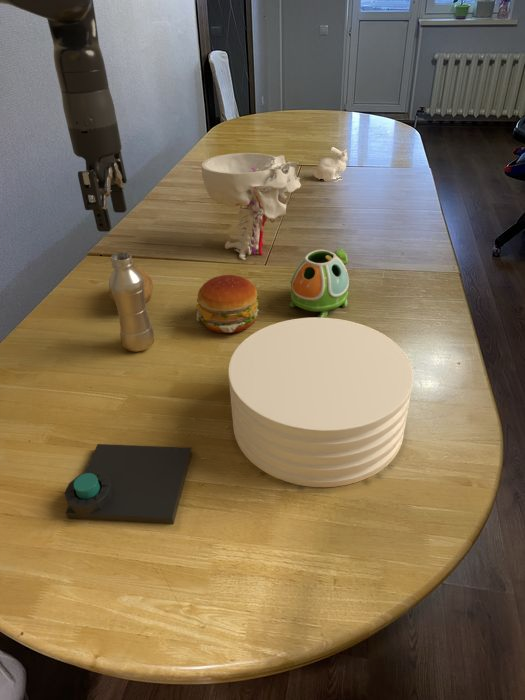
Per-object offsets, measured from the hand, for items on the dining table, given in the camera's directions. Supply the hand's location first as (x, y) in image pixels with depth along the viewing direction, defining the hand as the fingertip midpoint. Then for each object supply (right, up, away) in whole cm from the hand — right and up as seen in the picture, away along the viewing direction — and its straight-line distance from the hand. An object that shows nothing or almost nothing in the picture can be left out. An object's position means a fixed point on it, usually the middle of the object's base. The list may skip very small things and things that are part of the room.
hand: (113, 221), depth 90 cm
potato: (-4, -12, +30) cm, 32 cm away
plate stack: (+35, -34, -4) cm, 49 cm away
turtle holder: (+39, -12, +28) cm, 50 cm away
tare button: (+2, -42, -17) cm, 46 cm away
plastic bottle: (+1, -22, +16) cm, 27 cm away
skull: (+24, +6, +53) cm, 58 cm away
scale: (+7, -42, -14) cm, 45 cm away
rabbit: (+52, +40, +98) cm, 118 cm away
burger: (+19, -16, +22) cm, 33 cm away
